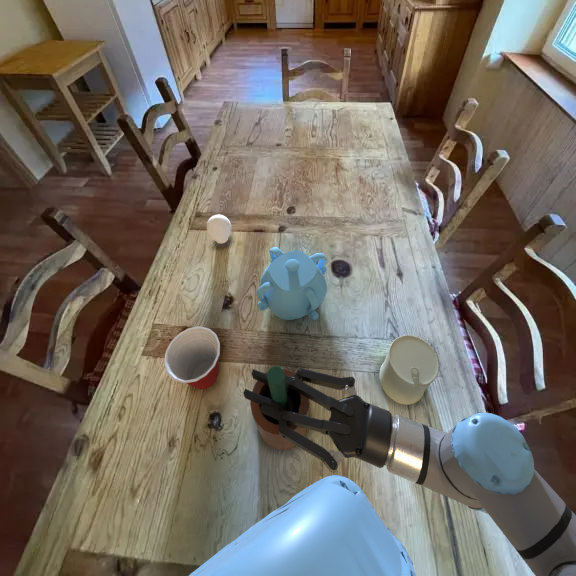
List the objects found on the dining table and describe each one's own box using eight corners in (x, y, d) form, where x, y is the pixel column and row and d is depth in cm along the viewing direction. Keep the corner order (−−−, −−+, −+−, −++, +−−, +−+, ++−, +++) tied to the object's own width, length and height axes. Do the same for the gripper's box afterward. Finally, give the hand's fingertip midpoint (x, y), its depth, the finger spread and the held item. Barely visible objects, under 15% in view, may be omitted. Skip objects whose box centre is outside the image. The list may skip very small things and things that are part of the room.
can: (380, 401, 69) (390, 381, 61) (378, 354, 75) (387, 330, 67) (427, 408, 68) (444, 388, 59) (421, 359, 74) (435, 336, 66)
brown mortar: (298, 459, 63) (297, 445, 54) (249, 437, 65) (240, 420, 56) (314, 401, 69) (316, 380, 60) (269, 383, 72) (264, 360, 63)
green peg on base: (289, 432, 63) (284, 396, 48) (267, 422, 64) (255, 385, 49) (297, 406, 66) (294, 365, 51) (276, 398, 67) (267, 355, 52)
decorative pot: (315, 335, 79) (317, 307, 70) (251, 315, 83) (245, 285, 74) (331, 277, 90) (335, 245, 81) (274, 261, 94) (272, 230, 85)
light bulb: (227, 230, 103) (221, 205, 95) (239, 244, 99) (233, 219, 91) (207, 241, 100) (199, 216, 92) (218, 256, 96) (210, 231, 88)
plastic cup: (213, 338, 79) (202, 314, 71) (239, 376, 73) (230, 354, 65) (170, 371, 74) (153, 349, 66) (194, 414, 68) (179, 396, 60)
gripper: (376, 507, 49) (231, 440, 56) (391, 393, 60) (268, 348, 66) (384, 503, 44) (224, 429, 51) (399, 379, 55) (265, 331, 61)
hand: (249, 383), depth 58 cm, fingers closed on green peg on base, 2 cm apart
